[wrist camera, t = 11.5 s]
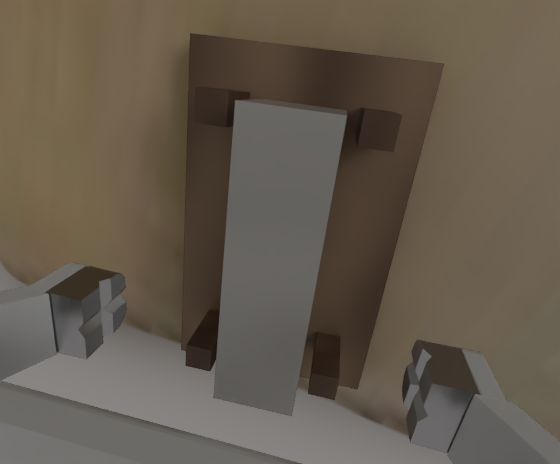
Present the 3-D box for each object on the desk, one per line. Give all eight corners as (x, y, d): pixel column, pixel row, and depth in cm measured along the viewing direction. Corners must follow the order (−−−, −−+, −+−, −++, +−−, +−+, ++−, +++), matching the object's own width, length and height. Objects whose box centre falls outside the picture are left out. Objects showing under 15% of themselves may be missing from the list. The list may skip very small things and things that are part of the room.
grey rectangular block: (346, 110, 15) (346, 115, 11) (303, 348, 19) (291, 416, 15) (265, 99, 15) (235, 100, 11) (241, 334, 19) (213, 397, 15)
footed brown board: (435, 66, 15) (469, 55, 11) (356, 369, 21) (359, 438, 17) (203, 38, 16) (153, 18, 12) (191, 333, 22) (155, 389, 18)
